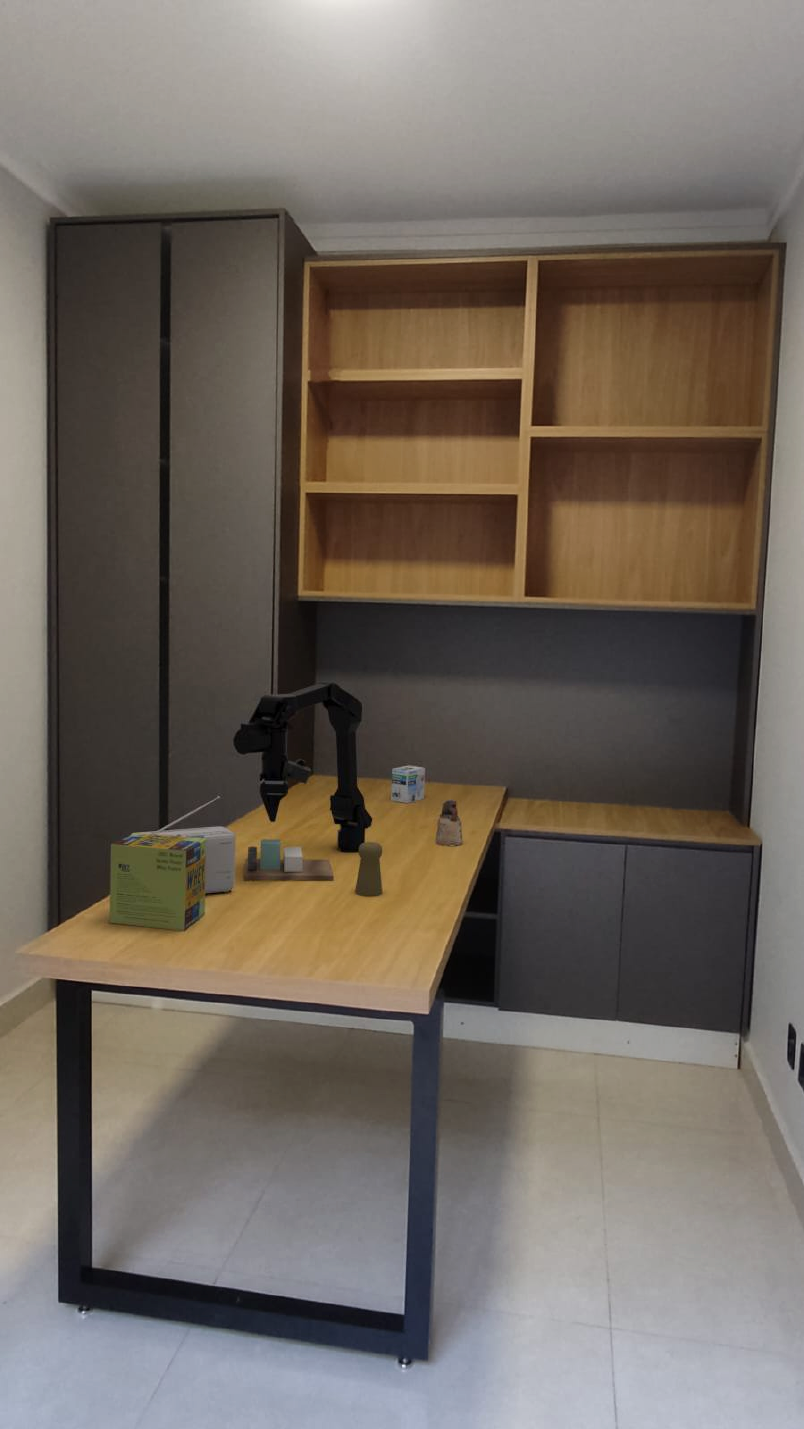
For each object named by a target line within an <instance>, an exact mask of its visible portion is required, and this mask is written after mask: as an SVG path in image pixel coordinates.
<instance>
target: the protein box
mask: <svg viewBox="0 0 804 1429" xmlns="http://www.w3.org/2000/svg"><path fill="white" fill-rule="evenodd" d="M134 833H135V834H133V835H131V834H130V835H128V836H126V837H123V838H122V839H120V840H117V841H115V842H113V843H111V844H110V875H109V876H110V881H109V882H110V883H109V884H110V886H109V887H110V889H109V893H110V894H109V923H110V924H117V925H125V926H126V925H129V926H136V927H145V928H155V929H164V930H174V931H180V932H181V931H185V930H186V929H188V928H190V927H191V926H192V925H193V924H194V923H196V922H197V921H198V920H200V919H201V918H202V917H204V916H205V915H206V894H205V875H206V838H194V837H182V836H171V835H157V834H145V833H139V832H134Z"/></svg>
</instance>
